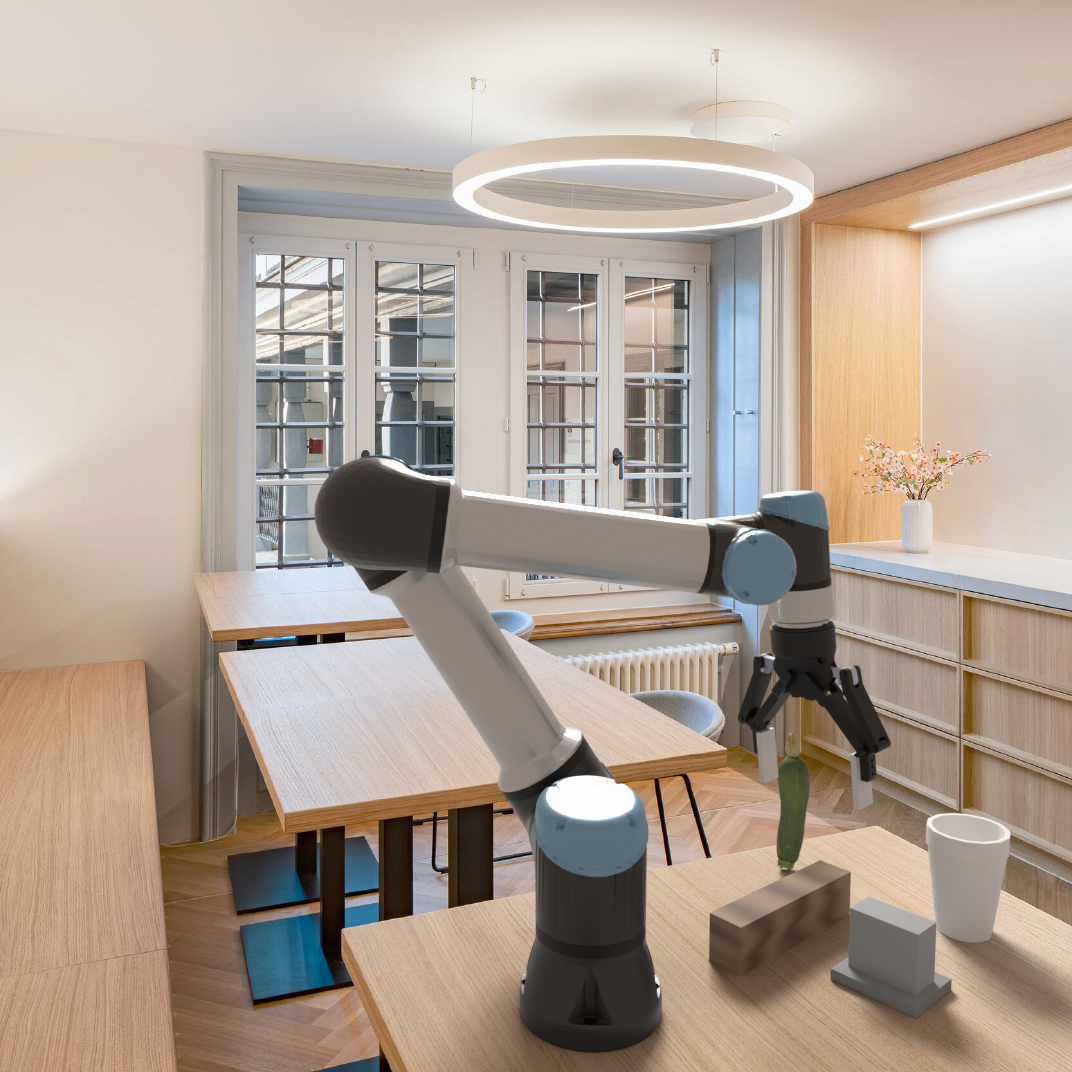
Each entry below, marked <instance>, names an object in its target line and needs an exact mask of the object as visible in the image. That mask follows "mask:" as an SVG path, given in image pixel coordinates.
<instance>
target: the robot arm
mask: <svg viewBox="0 0 1072 1072" xmlns="http://www.w3.org/2000/svg"><path fill="white" fill-rule="evenodd" d="M759 504H760V505H759V508H758V511H756V512H753V513H748V514H743V515H742V514H741V515H740V514H739V515H731V516H721V517H710V518H701V519H693V518H689V519H686V518H676V517H670V516H661V515H655V514H648V513H639V512H638V513H637V512H631V511H622V510H616V509H610V508H609V509H607V508H601V507H600V508H598V507H593V506H592V507H591V506H585V505H584V506H583V505H576V504H569V503H562V502H554V501H552V502H551V501H547V500H545V501H544V500H539V499H531V498H521V497H515V496H506V495H498V494H491V493H484V492H483V493H482V492H475V491H467V490H464V489H463V488H462V487H461V485H459V484H458V482H457V481H456V480H455V479H453V478H446V477H438V476H432V475H428V474H427V475H426V474H424V473H423V474H422V473H421V472H418V471H417V470H416V469H414V468H413V467H412V465H410V464H408V462H405V461H403V460H402V459H400V458H399V459H398V458H397V457H394V456H389V455H385V454H373V455H365V456H361V457H359V458H357V459H355V460H354V459H353V460H351V461H348V462H347V463H345V464H342V465H341V466H339V467H338V468H336V469H335V470H333V472H331V474H330V475H329V476H328V477H327V478H326V479H325V480H324V482H323V483H322V485H321V487H320V488H319V491H318V494H317V495H316V499H315V503H314V522H315V526H316V530H317V534H318V536H319V538H320V541H322V543H323V545H324V546H325V547H326V549H327V550H328V551H329V552H330V553H331V554H332V555H333V556H335V558H337V559H339V560H340V561H341V562H343V563H345V564H347V565H348V566H352V567H353V569H354V570H355V572H356V573H357V575H358V576H359V577H360V579H361V581H362V582H363V584H364V585H365V586H366V588H367V589H368V591H369V593H370V594H373V595H377V596H382V597H387V598H388V599H390V600H391V601H392V604H394V607H396V609H397V610H398V613H399V614H400V615H401V616H402V617H401V618H402V619H403V620H404V621H405V623H406V625H407V626H408V627H409V630H411V632H412V633H413V635H414V636H415V638H416V640H417V641H418V642H419V644H420V646H421V647H422V649H423V650H424V652H425V654H426V656H427V657H428V658H429V660H430V661H431V663H432V665H434V667H435V669H436V671H437V672H438V673H439V675H440V677H441V678H442V679H443V681H444V683H445V684H446V686H447V687H448V688H449V690H450V692H451V694H453V696H454V697H455V699H456V701H457V703H458V704H459V705H460V707H461V708H462V710H463V711H464V712H465V714H466V716H467V718H468V719H469V721H470V722H471V724H472V725H473V727H474V728H475V730H476V732H478V734H479V736H480V737H481V740H483V742H484V744H485V745H486V746H487V748H488V750H489V751H490V752H491V754H492V756H493V757H494V759H495V760H496V762H497V763H498V764H499V768H500V769H499V774H498V778H497V786H498V789H499V791H501V793H502V794H503V796H504V798H505V800H507V802H508V804H509V805H510V806H511V808H512V809H513V810H512V811H513V812H514V813H515V814H516V815H515V816H517V817H518V819H519V821H520V823H521V824H522V825H523V827H524V828H525V830H526V832H527V834H528V839H529V844H530V849H531V854H532V857H533V862H534V874H535V879H534V880H535V887H534V888H535V891H534V893H535V937H534V941H533V944H532V947H531V950H530V953H529V956H528V960H527V964H526V970H525V971H524V973H523V975H522V976H521V980H520V983H519V988H518V990H519V991H518V992H519V994H518V996H519V1000H518V1001H519V1005H518V1006H519V1013H520V1017H521V1019H522V1021H523V1023H524V1024H525V1025H526V1027H527V1028H528V1029H529V1030H530V1031H531V1032H532V1033H534V1034H535V1035H536V1036H537V1037H539V1038H541V1039H543V1040H545V1041H547V1042H548V1043H551V1044H553V1045H557V1046H559V1047H563V1048H566V1049H571V1050H577V1051H578V1050H579V1051H584V1052H585V1051H587V1052H598V1051H600V1052H601V1051H613V1050H615V1049H616V1050H617V1049H622V1048H625V1047H628V1046H631V1045H634V1044H636V1043H638V1042H640V1041H643V1040H644V1039H645V1038H647V1037H648V1036H649V1035H651V1034H653V1032H654V1031H655V1030H656V1029H657V1027H658V1025H659V1024H660V1021H661V1019H662V1014H663V1008H662V1007H663V991H662V987H661V986H662V985H661V983H660V981H659V978H658V976H657V974H656V971H655V965H654V962H653V958H652V954H651V952H650V949H649V945H648V943H647V937H646V936H647V935H646V934H647V929H646V928H647V926H646V925H647V923H646V922H647V871H648V870H647V867H648V865H647V860H648V859H647V856H648V854H647V852H648V845H647V844H648V843H649V830H650V829H649V823H648V820H647V811H646V807H645V803H644V801H643V799H642V798H641V797H640V795H639V794H638V793H637V792H636V791H635V790H634V789H633V788H631V786H629V785H627V784H625V783H618V781H617V780H615V779H614V777H613V775H612V773H611V772H610V770H609V769H608V767H607V766H606V765H605V764H604V762H602V761H600V759H599V758H598V757H597V754H596V753H595V752H594V751H593V749H592V747H591V746H590V744H589V742H588V741H587V739H586V738H585V737H584V734H583V733H582V732H581V731H580V729H578V728H576V727H569V726H565V725H562V723H561V722H560V721H559V719H558V718H557V716H556V714H555V713H554V712H553V710H552V709H551V707H550V706H549V704H548V702H547V701H546V699H545V697H544V696H543V694H542V693H541V691H540V689H539V688H538V686H537V685H536V683H535V682H534V681H533V679H532V677H531V675H530V674H529V673H528V671H527V670H526V668H525V666H524V665H523V663H522V662H521V660H520V658H519V657H518V655H517V654H516V652H515V651H514V649H513V648H512V646H511V644H510V643H509V641H508V640H507V638H506V636H505V635H504V633H503V632H502V630H501V629H500V627H499V626H498V624H497V623H496V621H495V620H494V617H493V616H492V614H491V613H490V611H489V610H488V608H487V607H486V606H485V604H484V603H483V601H482V599H481V598H480V596H479V594H478V593H477V591H476V589H474V586H473V585H472V583H471V582H470V581H469V579H468V578H467V576H466V574H465V573H464V571H463V570H462V568H461V567H468V568H477V569H484V570H485V569H486V570H493V571H502V572H503V571H504V572H511V573H519V574H528V575H537V576H545V577H553V578H563V579H571V580H572V579H573V580H581V581H590V582H596V583H597V582H598V583H606V584H616V585H623V586H632V587H640V588H650V589H659V590H667V591H674V592H675V591H676V592H685V593H693V594H700V595H704V596H713V597H720V598H721V597H722V598H729V599H734V600H736V601H738V602H740V603H741V604H744V605H753V606H767V613H768V619H769V621H771V622H772V623H771V625H770V626H769V635H770V649H771V652H770V651H768V652H764V653H762V654H759V655H756V656H753V660H752V662H753V663H752V667H753V668H752V675H751V678H750V680H749V682H748V686H747V689H746V692H745V695H744V698H743V701H742V704H741V707H740V710H739V712H738V716H737V721H738V722H739V723H740V724H746V725H747V726H749V728H750V730H751V731H752V742H753V743H752V745H753V752H754V754H756V755H757V761H758V773H759V782H760V784H768V783H769V782H772V781H773V780H776V779H778V767H779V765H778V754H777V744H776V743H777V742H776V741H777V740H776V729H775V728H776V727H771V725H772V724H773V722H772V721H773V719H774V718H775V716H777V714H778V713H779V711H780V710H781V709H782V707H783V706H784V704H785V703H786V701H788V699H789V698H790V696H791V698H794V699H795V698H797V699H798V698H803V699H805V700H806V701H807V700H808V701H816V702H817V703H818V705H819V706H820V707H822V708H824V709H825V710H826V711H827V713H828V715H829V716H830V717H831V718H832V720H833V722H834V723H835V724H836V725H837V727H838V729H839V730H840V731H841V732H842V734H843V735H844V737H845V738H846V739H847V741H848V742H849V744H850V746H851V747H852V748H853V750H854V752H853V753H852V752H851V753H850V754H849V759H850V761H849V762H850V775H851V787H852V788H851V789H852V790H851V791H852V802H853V803H852V804H853V810H856V811H862V810H863V809H865V808H867V807H868V806H871V805H872V804H873V803H874V798H873V797H874V796H873V781H875V780H876V778H877V762H876V761H877V759H876V754H877V753H880V752H883V751H884V750H886V749H889V748H890V747H891V746H892V742H891V739H890V738H889V734H888V733H887V732H886V731H887V730H886V728H885V727H884V725H883V723H882V720H881V719H880V716H879V715H878V713H877V710H876V708H875V706H874V704H873V701H872V700H871V697H870V696H869V694H868V691H867V689H866V687H865V685H864V681H863V675H862V669H861V667H860V666H859V665H858V664H853V665H849V666H848V667H847V666H845V667H843V666H839V667H838V664H837V663H836V661H835V655H836V651H837V636H836V623H835V622H833V620H832V618H833V617H834V614H835V611H834V600H833V596H834V595H833V585H832V574H831V555H830V551H831V550H830V534H829V532H830V527H829V520H828V511H827V508H826V500H825V498H824V496H823V495H822V494H821V493H820V492H818V491H816V490H803V489H802V490H789V491H788V490H787V491H778V492H775V493H767V494H764V495H763V496H762V497H761V498H760V500H759ZM773 672H775V674H776V676H777V678H778V680H777V681H776V683H775V684H774V685H773V687H772V688H771V693H770V694H769V695H768V697H767V698H766V699H764V698H765V696H766V693H767V691H768V688H769V684H770V682H771V680H772V676H773ZM836 680H837V682H836ZM840 686H841V688H840ZM828 693H830V694H828ZM827 694H828V695H827ZM764 700H765V701H764ZM763 702H764V703H763ZM768 726H769V727H768Z"/></svg>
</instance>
